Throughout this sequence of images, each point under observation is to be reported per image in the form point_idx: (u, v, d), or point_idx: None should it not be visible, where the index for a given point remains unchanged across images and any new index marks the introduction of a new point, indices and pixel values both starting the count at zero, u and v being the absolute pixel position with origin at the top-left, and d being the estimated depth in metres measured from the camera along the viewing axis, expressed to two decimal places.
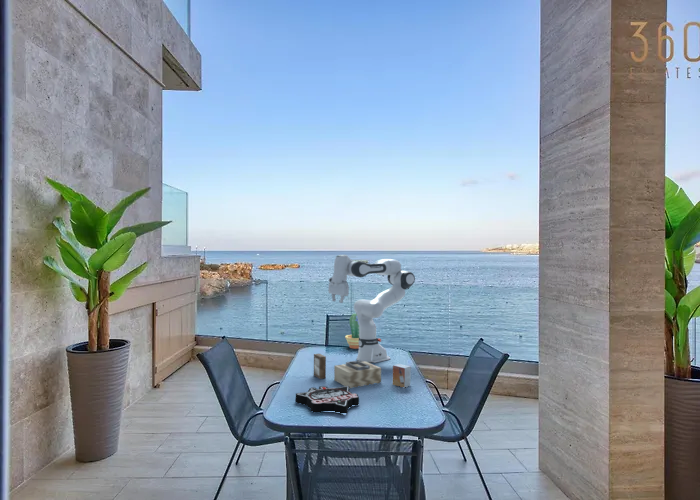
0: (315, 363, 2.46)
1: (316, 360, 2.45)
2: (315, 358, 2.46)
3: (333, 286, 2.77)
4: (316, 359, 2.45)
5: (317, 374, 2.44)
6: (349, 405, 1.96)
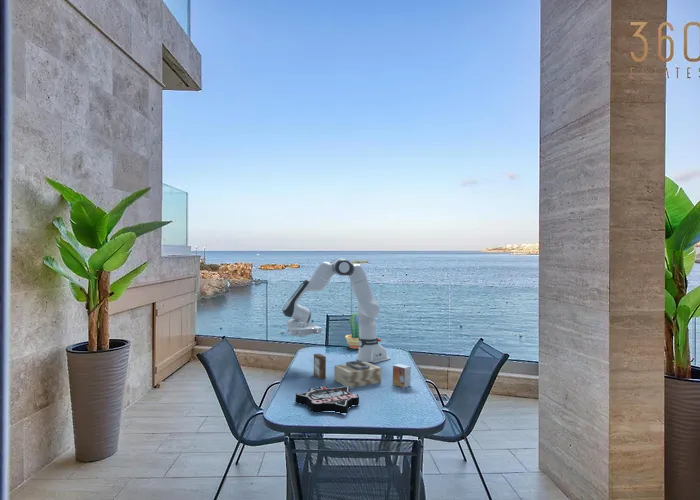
0: (315, 363, 2.46)
1: (316, 360, 2.45)
2: (315, 358, 2.46)
3: None
4: (316, 359, 2.45)
5: (317, 374, 2.44)
6: (349, 405, 1.96)
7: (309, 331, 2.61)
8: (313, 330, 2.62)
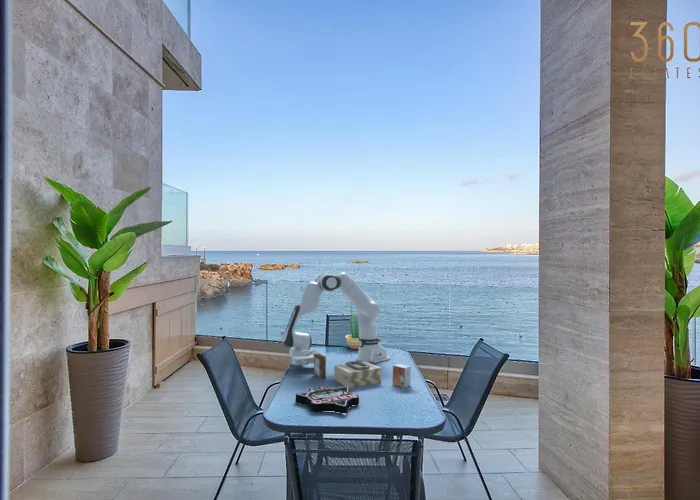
0: (315, 363, 2.46)
1: (316, 360, 2.45)
2: (315, 358, 2.46)
3: None
4: (316, 359, 2.45)
5: (317, 374, 2.44)
6: (349, 405, 1.96)
7: (313, 360, 2.57)
8: None
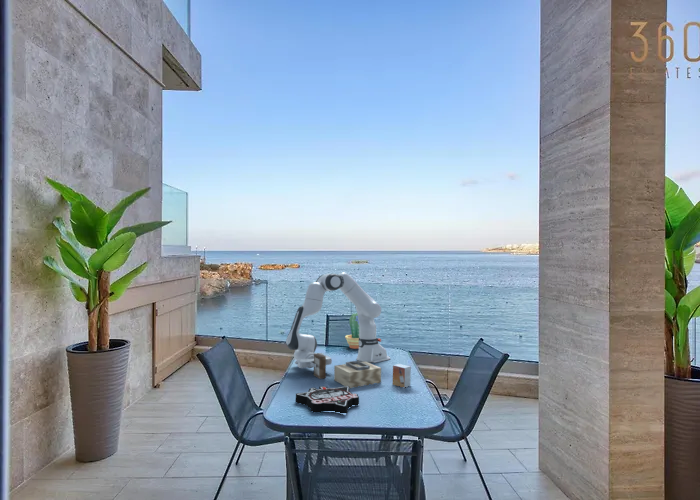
0: (315, 363, 2.46)
1: (316, 360, 2.45)
2: (315, 358, 2.46)
3: None
4: (316, 359, 2.45)
5: (317, 373, 2.44)
6: (349, 405, 1.96)
7: None
8: None
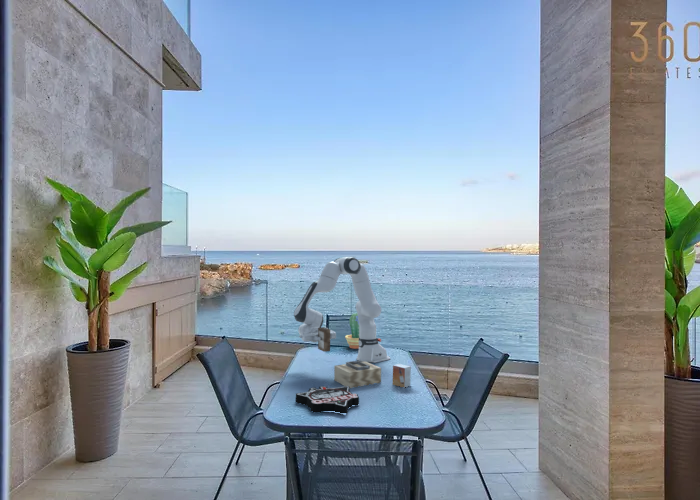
0: (319, 336, 2.45)
1: (321, 334, 2.44)
2: (319, 331, 2.45)
3: None
4: (321, 332, 2.44)
5: (321, 347, 2.43)
6: (349, 405, 1.96)
7: None
8: None
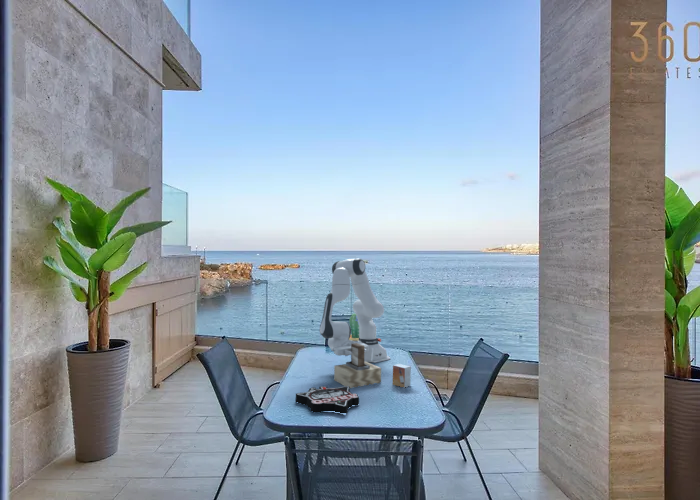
0: (353, 353, 2.38)
1: (354, 350, 2.36)
2: (353, 348, 2.38)
3: None
4: (354, 348, 2.36)
5: (355, 363, 2.35)
6: (349, 405, 1.96)
7: None
8: None
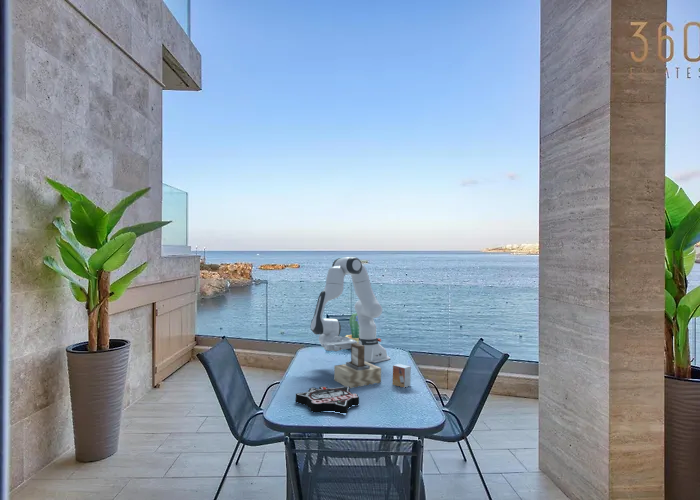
0: (353, 353, 2.38)
1: (354, 350, 2.36)
2: (353, 348, 2.38)
3: None
4: (354, 348, 2.36)
5: (355, 363, 2.35)
6: (349, 405, 1.96)
7: (345, 346, 2.52)
8: (349, 344, 2.54)
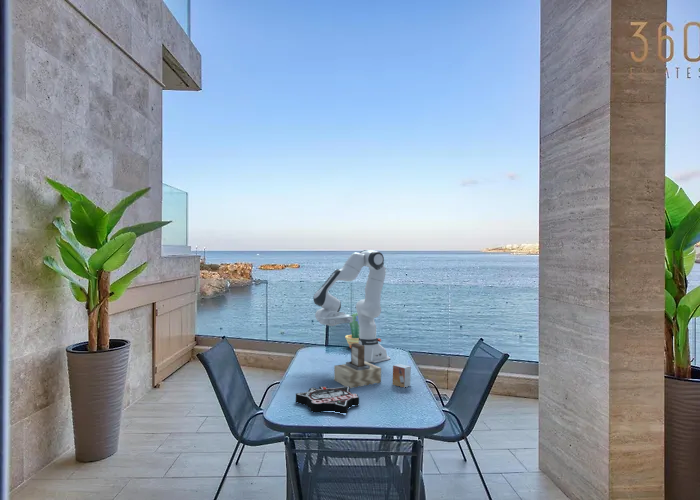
0: (353, 353, 2.38)
1: (354, 350, 2.36)
2: (353, 348, 2.38)
3: None
4: (354, 348, 2.36)
5: (355, 363, 2.35)
6: (349, 405, 1.96)
7: (340, 320, 2.57)
8: (344, 319, 2.58)
